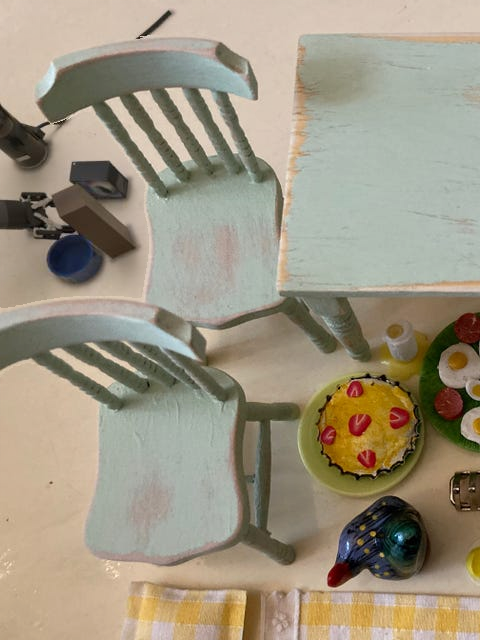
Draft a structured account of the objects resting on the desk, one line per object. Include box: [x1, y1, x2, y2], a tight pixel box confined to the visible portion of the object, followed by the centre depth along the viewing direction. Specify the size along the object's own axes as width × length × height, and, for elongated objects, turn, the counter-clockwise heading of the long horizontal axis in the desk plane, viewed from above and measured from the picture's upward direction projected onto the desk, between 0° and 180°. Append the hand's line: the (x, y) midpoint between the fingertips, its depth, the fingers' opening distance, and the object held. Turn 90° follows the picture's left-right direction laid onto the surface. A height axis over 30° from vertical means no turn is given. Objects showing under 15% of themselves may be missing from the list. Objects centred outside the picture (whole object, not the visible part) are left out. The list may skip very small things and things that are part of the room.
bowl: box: [46, 233, 103, 284], centre depth 188 cm, size 13×13×4 cm
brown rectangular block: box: [50, 183, 137, 259], centre depth 180 cm, size 7×7×24 cm
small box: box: [68, 160, 129, 200], centre depth 192 cm, size 11×6×10 cm, turn 91°
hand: (70, 216), depth 187 cm, fingers open, 8 cm apart
